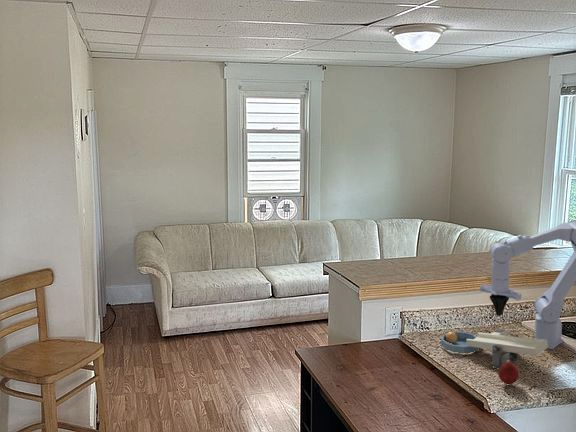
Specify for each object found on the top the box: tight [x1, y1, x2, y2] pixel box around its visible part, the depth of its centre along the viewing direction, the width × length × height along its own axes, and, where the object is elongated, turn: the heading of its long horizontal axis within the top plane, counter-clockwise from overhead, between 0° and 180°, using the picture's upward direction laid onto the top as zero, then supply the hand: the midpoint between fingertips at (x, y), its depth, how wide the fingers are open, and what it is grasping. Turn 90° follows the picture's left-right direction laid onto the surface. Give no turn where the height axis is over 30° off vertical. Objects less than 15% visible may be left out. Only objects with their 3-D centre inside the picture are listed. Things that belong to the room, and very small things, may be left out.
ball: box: [445, 331, 457, 343], centre depth 202 cm, size 4×4×4 cm
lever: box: [466, 328, 548, 357], centre depth 189 cm, size 17×24×3 cm
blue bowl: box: [440, 330, 479, 353], centre depth 200 cm, size 12×12×3 cm
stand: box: [489, 334, 522, 368], centre depth 186 cm, size 14×4×7 cm, turn 131°
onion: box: [497, 360, 520, 385], centre depth 172 cm, size 6×6×8 cm
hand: (499, 314), depth 199 cm, fingers closed
